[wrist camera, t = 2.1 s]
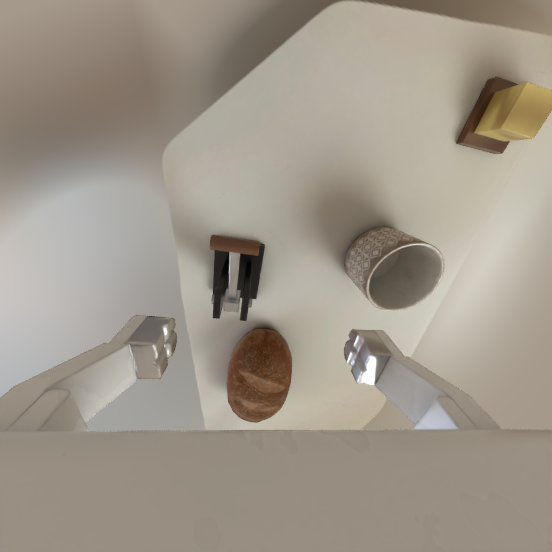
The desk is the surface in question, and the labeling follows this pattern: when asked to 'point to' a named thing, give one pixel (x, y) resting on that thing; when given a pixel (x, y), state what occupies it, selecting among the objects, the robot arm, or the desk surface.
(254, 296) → the slicer
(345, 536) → the robot arm
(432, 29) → the desk surface
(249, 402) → the bread
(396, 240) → the planter
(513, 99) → the butter
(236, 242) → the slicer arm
